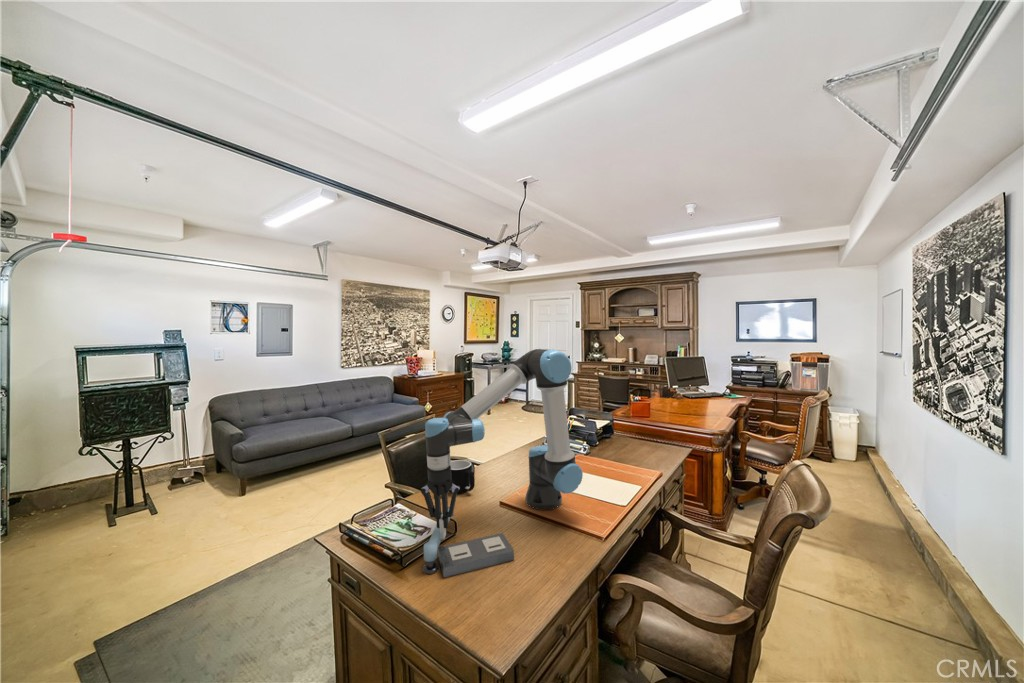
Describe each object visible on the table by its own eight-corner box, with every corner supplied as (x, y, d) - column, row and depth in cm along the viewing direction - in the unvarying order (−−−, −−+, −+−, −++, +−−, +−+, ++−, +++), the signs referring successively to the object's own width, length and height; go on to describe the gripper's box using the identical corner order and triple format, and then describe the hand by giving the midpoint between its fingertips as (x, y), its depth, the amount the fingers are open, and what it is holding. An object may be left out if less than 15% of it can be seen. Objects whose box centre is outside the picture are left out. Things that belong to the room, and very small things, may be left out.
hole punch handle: (435, 561, 109) (435, 549, 109) (422, 561, 109) (421, 549, 109) (453, 515, 136) (453, 505, 136) (443, 515, 136) (442, 505, 136)
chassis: (503, 541, 125) (502, 531, 124) (514, 560, 114) (513, 549, 114) (438, 556, 117) (437, 546, 117) (443, 577, 107) (443, 566, 107)
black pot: (474, 498, 158) (473, 470, 157) (437, 499, 158) (436, 471, 157) (478, 482, 174) (477, 457, 174) (444, 483, 174) (444, 458, 174)
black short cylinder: (438, 562, 114) (437, 551, 114) (440, 572, 109) (440, 560, 109) (421, 566, 112) (421, 555, 112) (423, 576, 108) (423, 564, 108)
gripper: (416, 471, 116) (420, 543, 116) (455, 470, 115) (459, 543, 115) (423, 462, 123) (427, 530, 124) (460, 461, 122) (464, 530, 123)
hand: (443, 537), depth 120 cm, fingers closed
